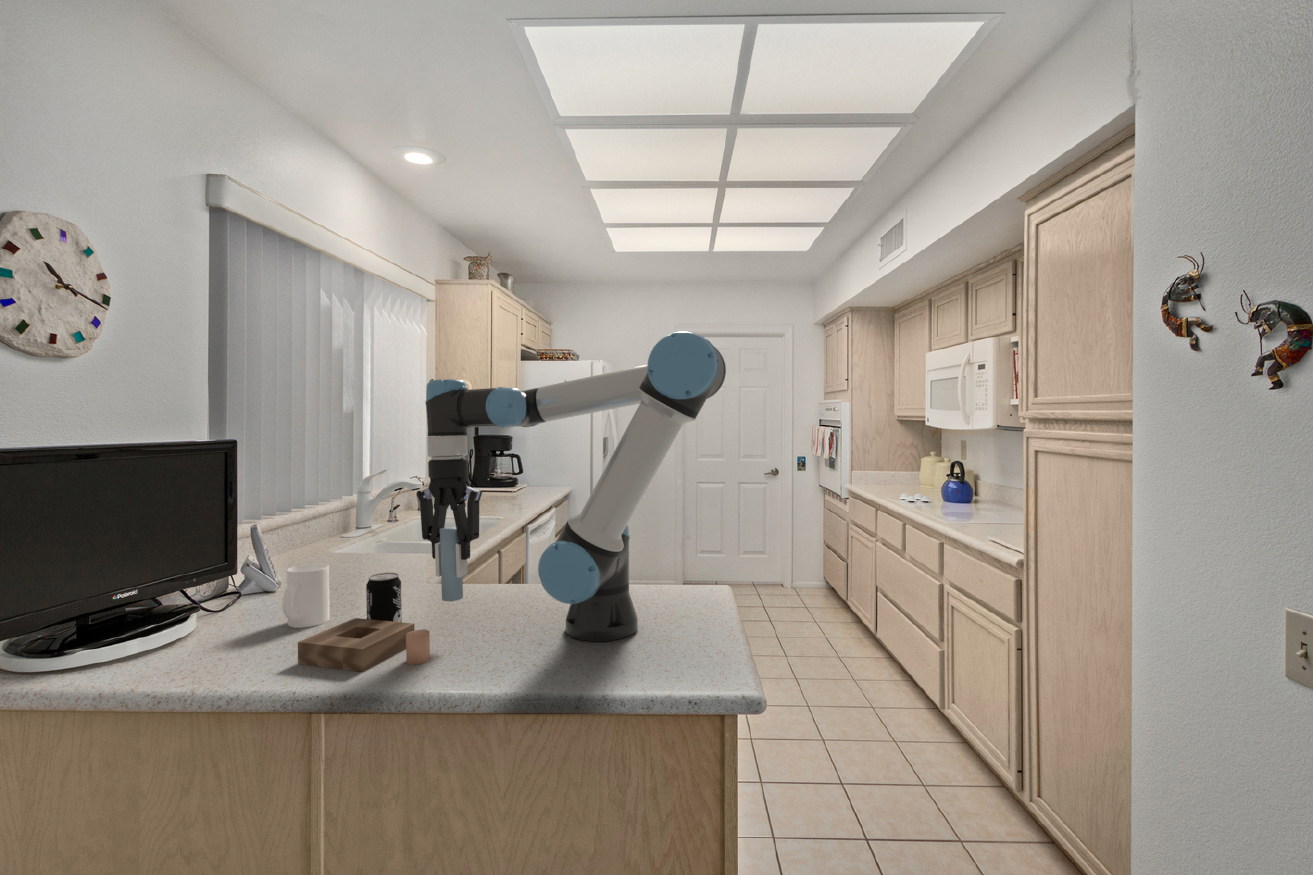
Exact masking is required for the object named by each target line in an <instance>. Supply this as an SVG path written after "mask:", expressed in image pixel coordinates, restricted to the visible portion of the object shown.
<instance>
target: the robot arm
mask: <svg viewBox="0 0 1313 875" xmlns="http://www.w3.org/2000/svg"><path fill="white" fill-rule="evenodd" d="M726 375H727V367H726V362H725V359H724V357H723V355H722V353H721V352H720V350H718V348H717V347H715V346H714V344H712V342H711V341H710V340H709V339H706V338H705V337H704V336H703V335H700V334H697V333H695V332H689V331H676V332H672V333H670V334H669V333H668V334H667V335H665V336H664V337H662V338H661V339H660V340H659V341H657V342H656V344H655V345H654V346H653V347H652V349H651V351H650V352H649V356H648V360H647V364H644V365H639V366H634V367H630V368H625V369H620V370H616V371H611V372H606V373H602V374H597V375H593V376H587V377H582V378H577V379H573V380H568V381H564V382H560V383H554V384H550V385H545V386H541V387H535V388H530V389H526V390H521V389H519V388H516V387H506V386H505V387H504V386H499V387H492V388H476V389H475V388H473V389H467V385H466V382H465V381H464V380H462V379H453V378H452V379H432V380H430V381H428V383H426V396H425V398H426V399H425V407H426V410H425V411H426V421H427V422H426V423H427V424H426V426H427V440H426V442H427V457H428V458H430V460H428V461H427V465H428V467H427V468H428V470H427V471H428V477H429V479H430V481H429V484H428V487H426V488H424V489H420V490H417V491H416V496H417V498H418V502H419V508H420V510H419V511H420V522H421V523H420V524H421V537H422V539H423V540H425V541H427V540H428V541H429V542H430V543H431V557H432V559H434V560H435V562H434V564H435V577H436V578H437V577H441V554H440V529H441V528H445V526H446V519H447V513H448V512H447V511H448V509H449V507H450V510H451V511H452V513H453V520H454V524H455V527H456V529H457V534H458V538H459V542H457V543H458V544H456V575H457V577H462V578H463V577H464V576H467V575H468V573H469V572H468V570H469V569H468V559H470V558H471V543H472V541H474V540H477V539H479V537H480V501H481V497H482V495H483V490H481V489H475V488H473V487H471V486H470V483H469V481H468V478H469V459H467V458H466V456H467V455H469V454H468V453H469V452H468V451H469V450H468V449H469V448H468V428H504V427H505V428H511V427H522V428H530V427H534V426H535V427H536V426H538V425H540V424H543V423H546V422H551V421H559V420H562V419H563V420H564V419H567V418H573V417H579V416H584V415H589V414H594V413H599V412H604V411H605V412H606V411H610V410H615V409H619V408H625V407H630V406H635V405H638V407H637V409H636V411H635V412H634V414H633V416H632V418H631V419H630V422H629V424H628V426H627V427H626V429H625V431H624V433H623V435H622V436H621V437H620V440H619V442H618V443H617V445H616V448H615V449H614V451H613V453H612V455H611V457H610V458H609V460H608V462H607V464H606V465H605V468H604V470H603V471H602V474H601V476H600V477H599V479H598V481H597V482H596V484H595V487H594V488H593V490H592V492H591V493H590V495H589V497H588V499H587V501H586V503H585V505H584V507H583V508H582V509H581V512H580V513H578V514H575V515H572V516H570V517H569V518H568V520H567V521H566V523H565V525H564V526H563V528H562V530H561V532H560V534H559V535H558V538H557V539H556V541H555V542H553V543H551V544H549V545H548V546H547V548H545V550H544V551H543V552H542V553H541V555H540V557H539V561H538V566H537V572H538V574H537V575H538V577H539V579H540V580H539V581H540V582H541V586H542V588H543V589H544V591H546V593H547V594H548V595H549V596H550V597H551V598H553V599H554V600H556V601H558V602H560V603H563V604H567V605H568V604H569V607H568V611H567V614H566V618H565V633H566V634H567V635H568V636H569V637H572V638H574V639H576V640H581V641H586V642H587V641H588V642H609V641H617V640H621V639H625V638H627V637H630V636H633V635H634V634H635V633H636V632H637V631H638V628H639V627H638V620H639V619H638V615H637V612H636V609H635V606H634V603H633V599H632V597H631V594H630V538H631V537H630V531H629V525H628V524H629V522H630V520H631V518H632V516H633V515H634V513H635V511H636V509H637V508H638V506H639V504H640V502H641V501H642V499H643V497H644V495H645V493H646V491H647V489H648V488H649V486H650V484H651V482H652V481H653V478H654V477H655V475H656V473H657V471H658V470H659V467H660V466H661V465H662V463H663V461H664V458H665V457H666V456H667V454H668V452H669V450H670V448H671V446H672V445H673V443H674V441H675V439H676V437H677V436H678V434H679V432H680V431H681V429H682V426H683V425H685V424H687V423H690V422H693V421H695V420H696V419H697V417H698V415H699V413H700V412H701V410H702V408H703V406H704V404H705V402H706V400H708V399H711V397H713V396H715V395H716V393H718V392H719V391H720V389H721V388H722V386H723V384H724V382H725V381H726V380H725V379H726ZM433 498H434V500H433ZM465 498H467V501H466V499H465ZM466 502H467V504H466ZM466 506H467V507H466ZM466 509H467V512H466Z"/></svg>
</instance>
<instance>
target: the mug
mask: <svg viewBox="0 0 1313 875" xmlns="http://www.w3.org/2000/svg"><path fill="white" fill-rule="evenodd" d="M281 602H282V603H281V606H282V612H283V614H284V615H285V617H286V618H287V625H288V627H289V628H294V629H295V628H296V629H303V628H304V629H305V628H310V627H316V626H321V625H323V624H325V623H327V622H328V621H329V620H330V613H331V610H330V606H331V605H330V566H329V565H328V564H326V563H308V564H300V565H295V566H292V567H289V568H287V570H286V589H285V591H284V593H283V597H282V601H281Z"/></svg>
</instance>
